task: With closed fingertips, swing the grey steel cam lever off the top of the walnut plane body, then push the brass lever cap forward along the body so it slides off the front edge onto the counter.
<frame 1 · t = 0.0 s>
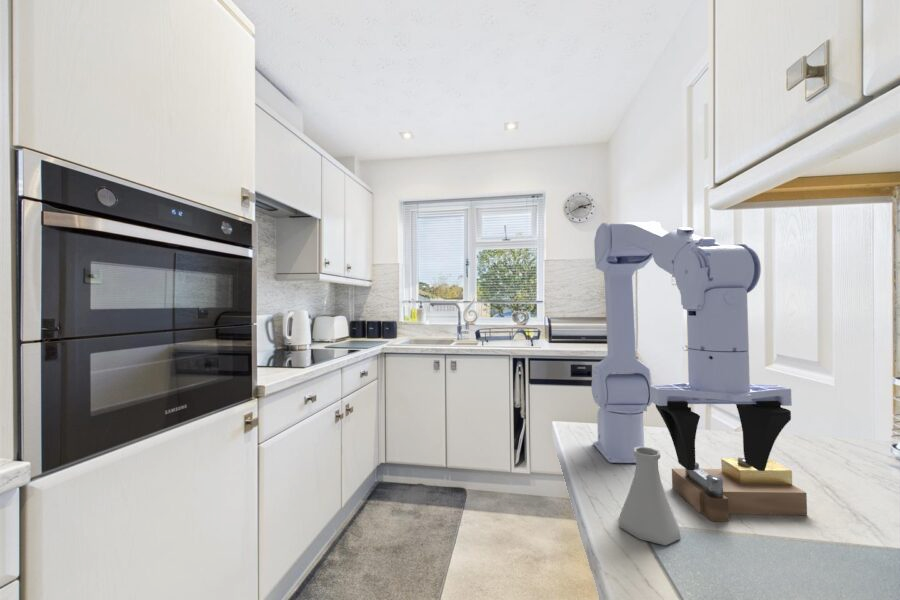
hand: (720, 466, 42), 10 cm above the worktop, tool pointing down, fingers open, 7 cm apart
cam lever: (703, 477, 52), point 4 cm above the worktop, hinge at 0.0°
flask: (648, 529, 47), on the worktop
lever cap: (755, 477, 54), point 3 cm above the worktop, touching plane body
plane body: (734, 500, 54), on the worktop
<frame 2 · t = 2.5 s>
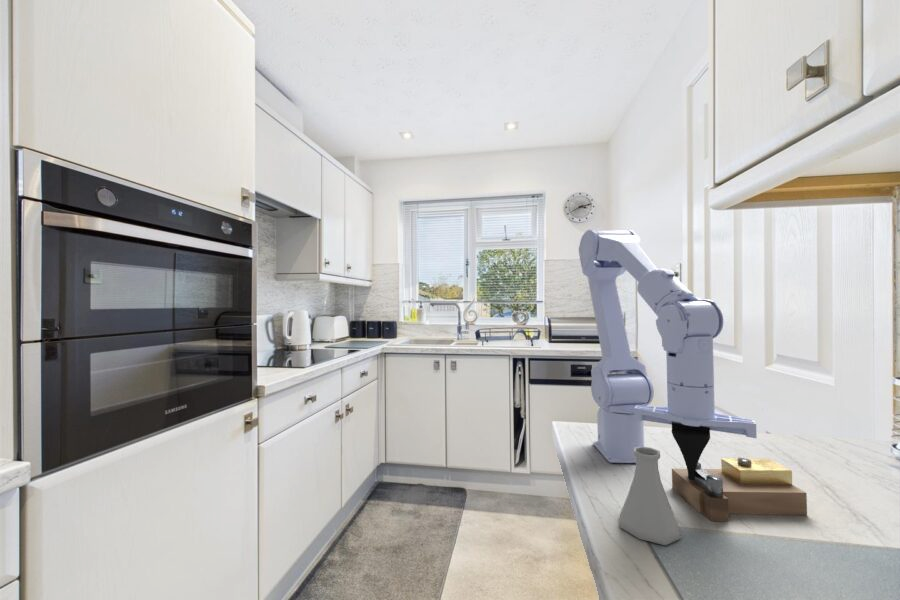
hand: (692, 477, 53), 4 cm above the worktop, tool pointing down, fingers closed, pressing on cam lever
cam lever: (704, 477, 52), point 4 cm above the worktop, hinge at -3.6°, touching gripper
everything else where it was.
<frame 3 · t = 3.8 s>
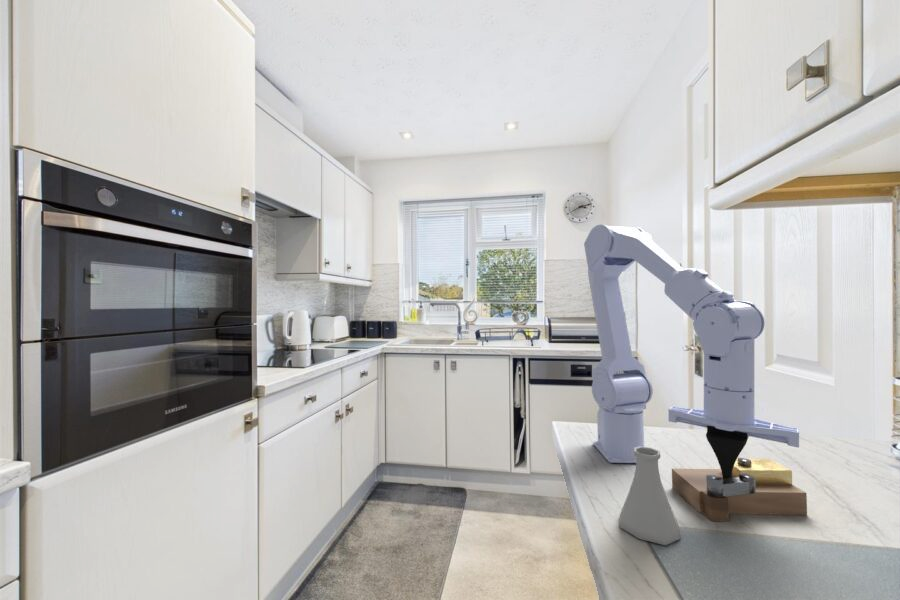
hand: (728, 482, 52), 3 cm above the worktop, tool pointing down, fingers closed, pressing on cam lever
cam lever: (730, 484, 50), point 4 cm above the worktop, hinge at -78.2°, touching gripper
everything else where it was.
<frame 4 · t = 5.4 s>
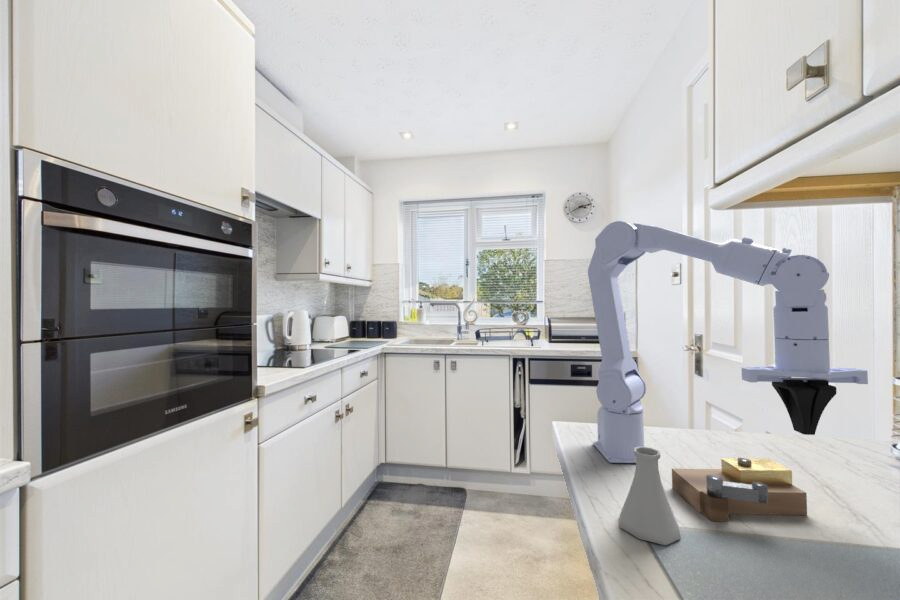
hand: (804, 432, 53), 10 cm above the worktop, tool pointing down, fingers closed
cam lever: (736, 488, 49), point 4 cm above the worktop, hinge at -106.1°
everything else where it was.
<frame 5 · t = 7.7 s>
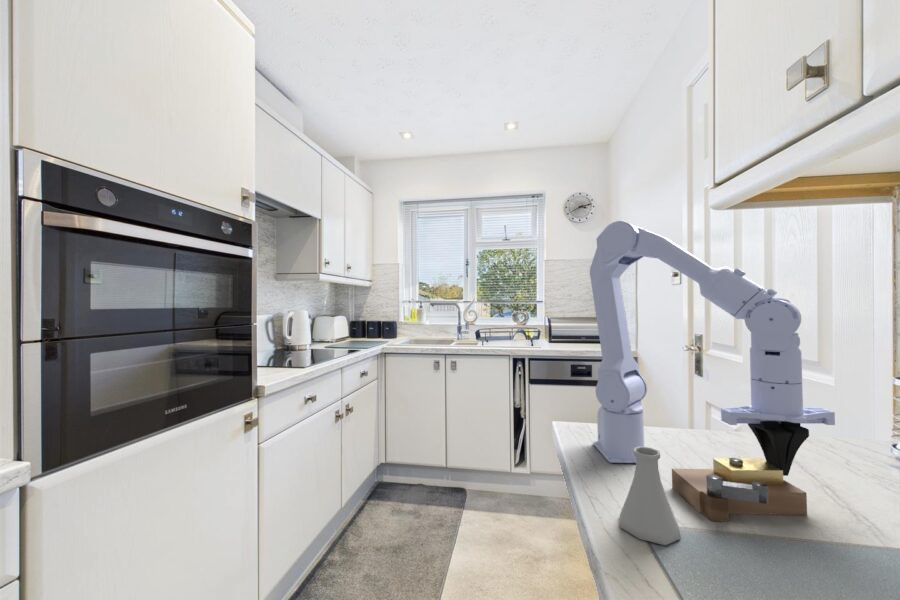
hand: (778, 472, 54), 4 cm above the worktop, tool pointing down, fingers closed
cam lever: (736, 488, 49), point 4 cm above the worktop, hinge at -106.7°
lever cap: (747, 477, 54), point 3 cm above the worktop, touching gripper, plane body
everything else where it was.
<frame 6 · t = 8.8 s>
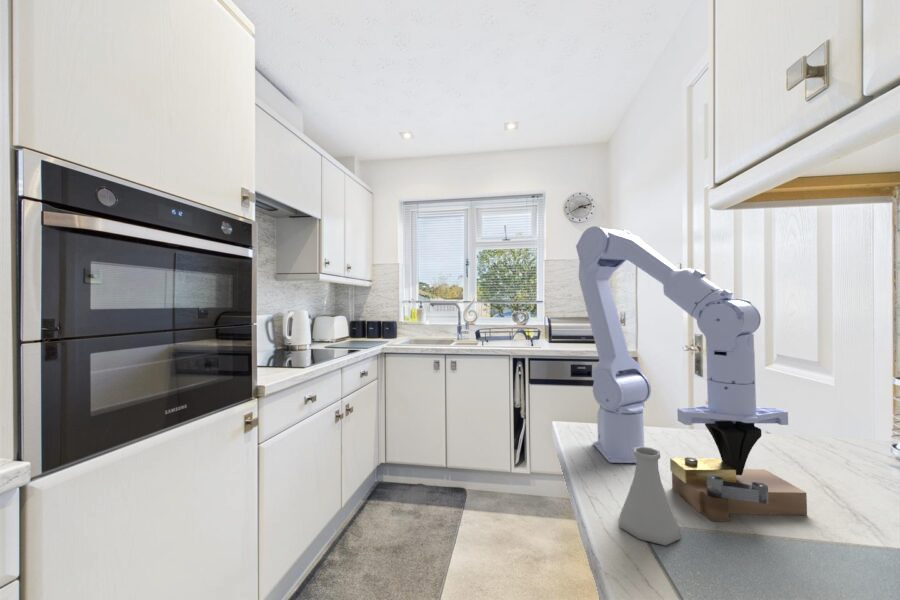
hand: (733, 472, 54), 4 cm above the worktop, tool pointing down, fingers closed
lever cap: (702, 477, 55), point 3 cm above the worktop, touching gripper
everything else where it was.
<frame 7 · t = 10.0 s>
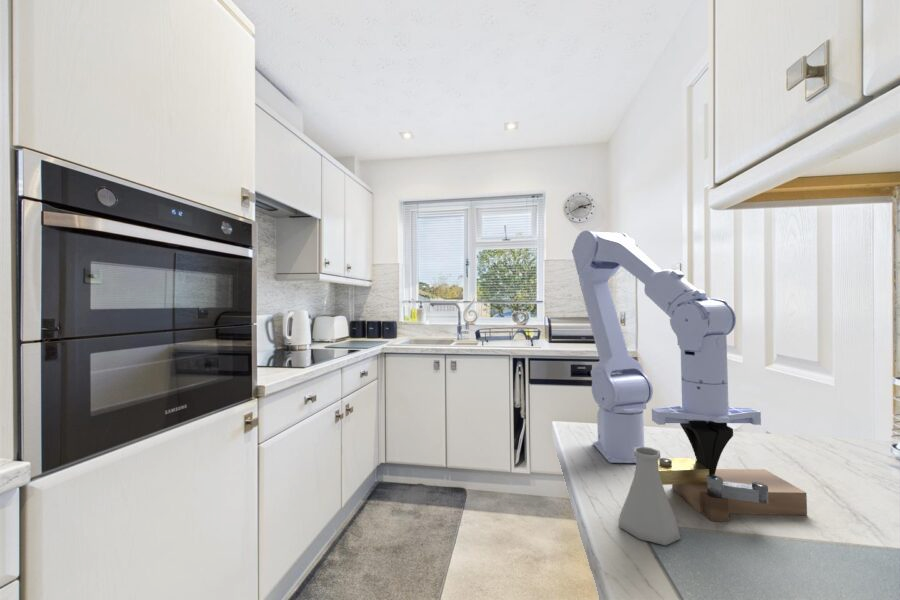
hand: (706, 471, 54), 4 cm above the worktop, tool pointing down, fingers closed
lever cap: (676, 477, 55), point 3 cm above the worktop, touching gripper, plane body
everything else where it was.
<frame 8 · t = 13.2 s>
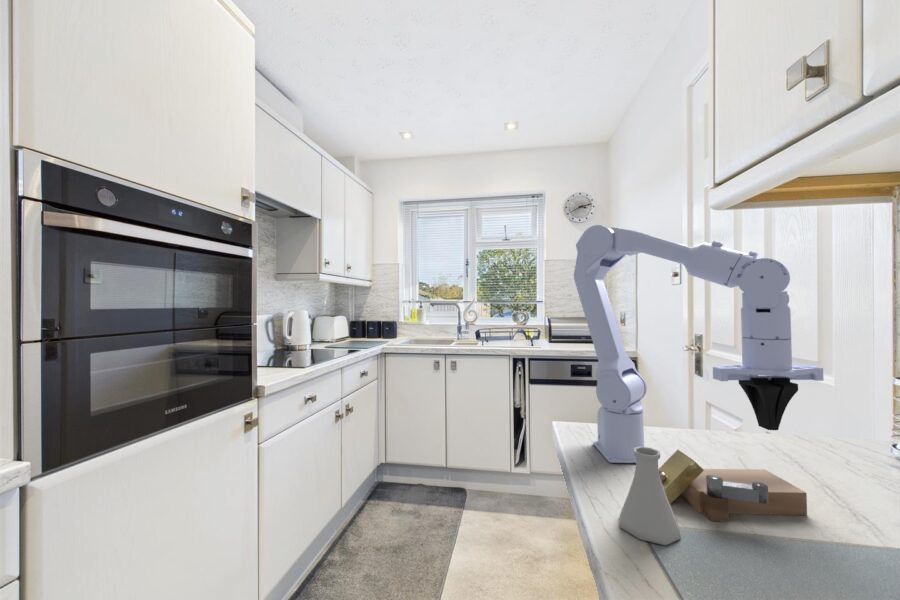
hand: (768, 428, 55), 10 cm above the worktop, tool pointing down, fingers closed
lever cap: (679, 480, 55), point 2 cm above the worktop, tilted 45°, touching plane body
everything else where it was.
at the end: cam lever at -107° (first picture: +0°); lever cap inside the target area (5.5 cm from its centre), point 2.5 cm above the worktop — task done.
